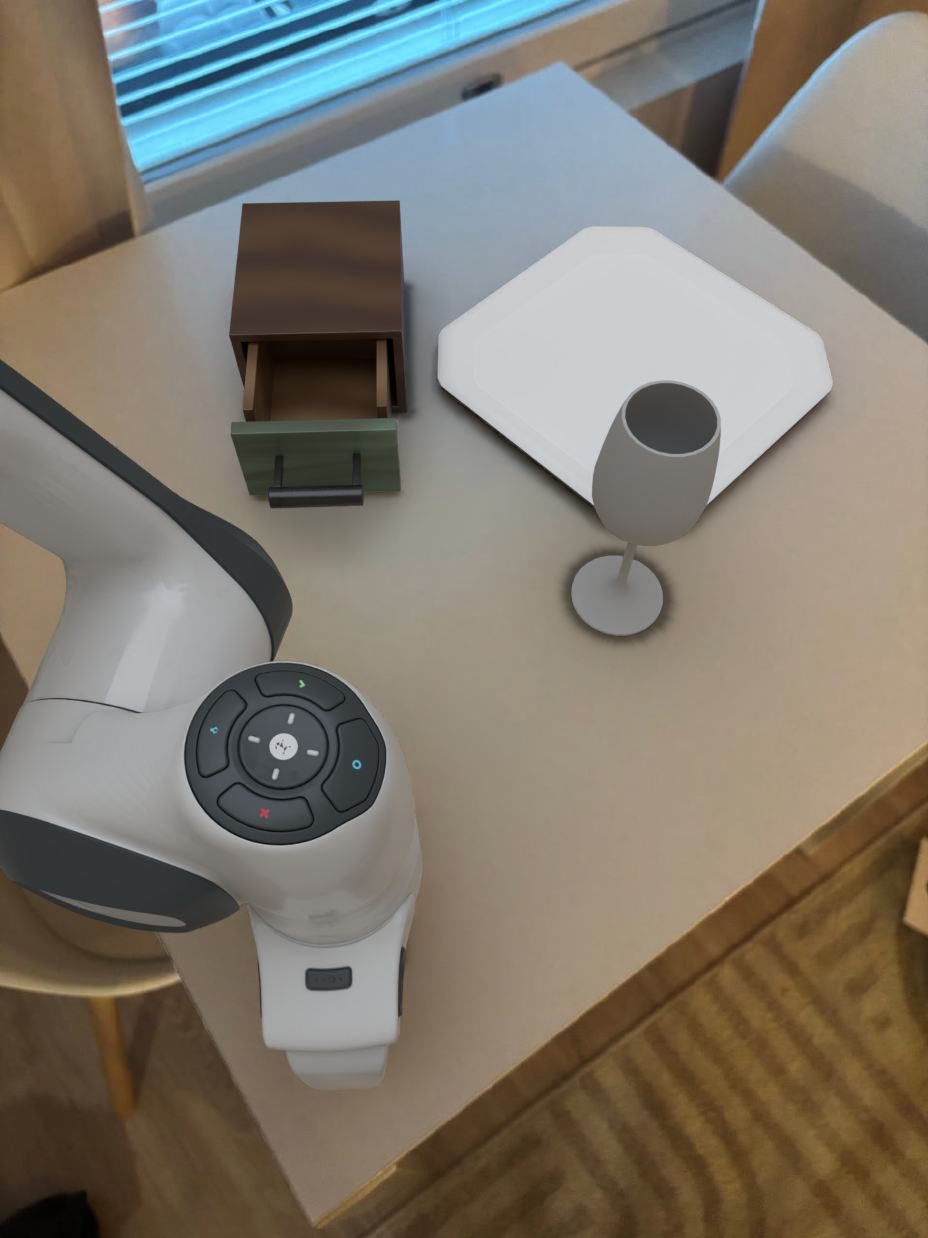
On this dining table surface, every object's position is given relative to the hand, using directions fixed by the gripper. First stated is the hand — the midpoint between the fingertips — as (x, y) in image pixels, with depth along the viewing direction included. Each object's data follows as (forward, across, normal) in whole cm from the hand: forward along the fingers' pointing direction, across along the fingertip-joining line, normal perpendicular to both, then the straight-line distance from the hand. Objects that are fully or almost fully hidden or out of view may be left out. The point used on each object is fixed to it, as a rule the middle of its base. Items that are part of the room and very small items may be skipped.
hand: (360, 916), depth 60 cm
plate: (+3, -47, +24) cm, 53 cm away
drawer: (+1, -39, -3) cm, 39 cm away
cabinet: (+2, -51, -3) cm, 51 cm away
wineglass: (+3, -24, +20) cm, 31 cm away
